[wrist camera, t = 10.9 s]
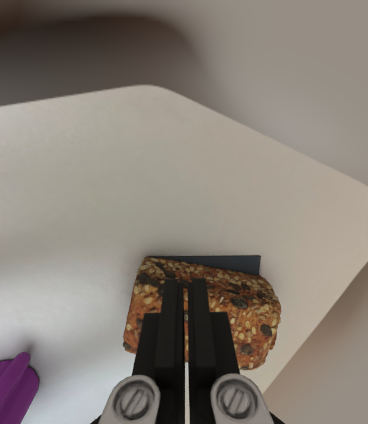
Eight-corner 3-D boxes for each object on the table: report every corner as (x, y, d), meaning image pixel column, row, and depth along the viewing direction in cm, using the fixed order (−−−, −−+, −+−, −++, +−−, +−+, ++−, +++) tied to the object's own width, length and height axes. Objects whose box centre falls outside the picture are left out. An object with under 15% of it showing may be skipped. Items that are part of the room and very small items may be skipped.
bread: (131, 308, 41) (116, 365, 32) (143, 247, 38) (130, 292, 28) (247, 328, 43) (265, 389, 33) (269, 272, 39) (296, 323, 30)
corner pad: (148, 256, 38) (148, 256, 38) (260, 255, 38) (260, 256, 38) (152, 322, 42) (152, 323, 42) (253, 322, 42) (253, 322, 42)
